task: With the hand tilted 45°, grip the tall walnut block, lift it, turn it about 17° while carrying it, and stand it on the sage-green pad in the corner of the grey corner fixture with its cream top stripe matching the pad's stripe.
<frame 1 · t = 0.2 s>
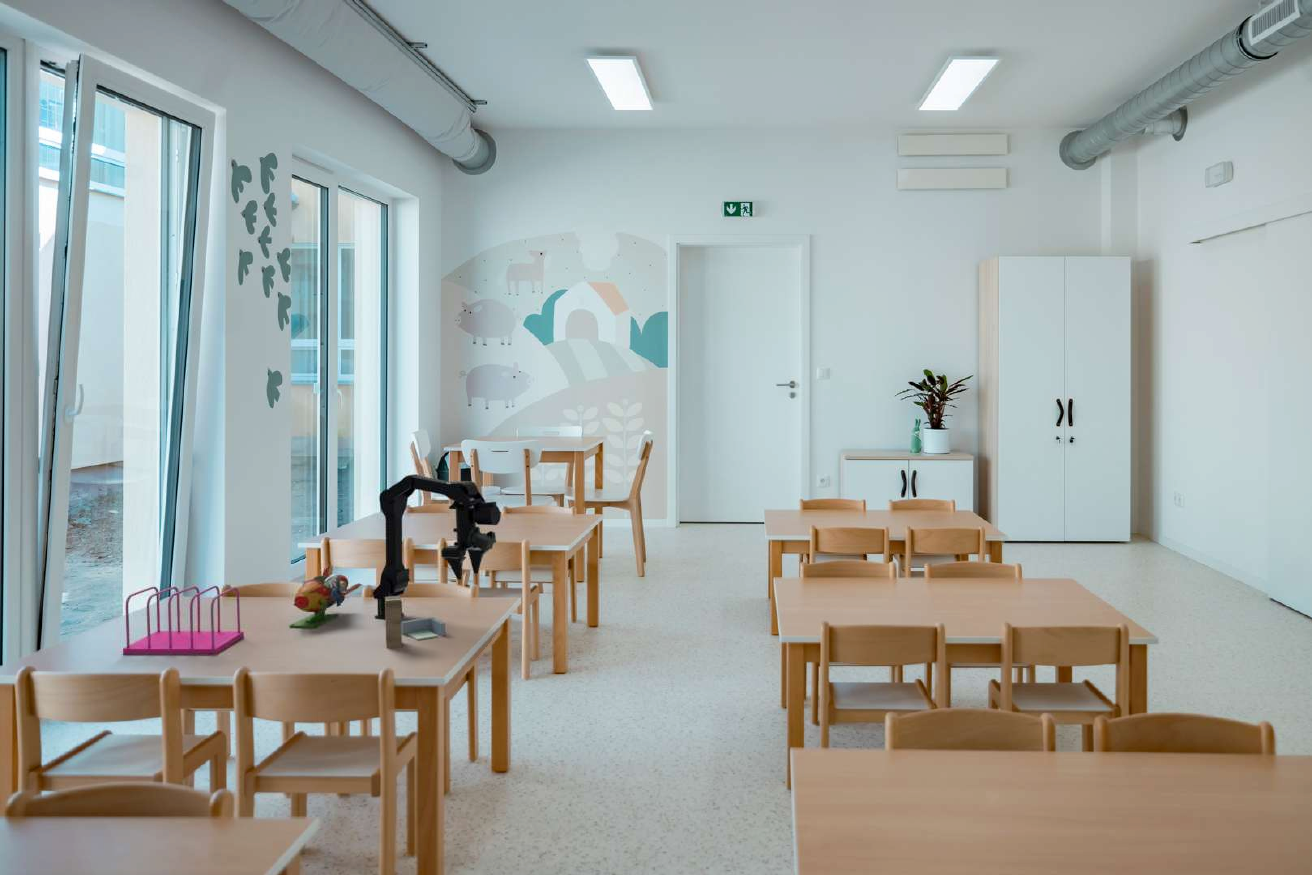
hand: (467, 576, 286), 14 cm above the table, tool pointing down, fingers open, 9 cm apart
file sorter: (185, 646, 266), on the table
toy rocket: (319, 621, 292), on the table
grey corner fixture: (422, 635, 275), on the table
kendama: (331, 597, 325), on the table
walnut block: (393, 644, 266), on the table
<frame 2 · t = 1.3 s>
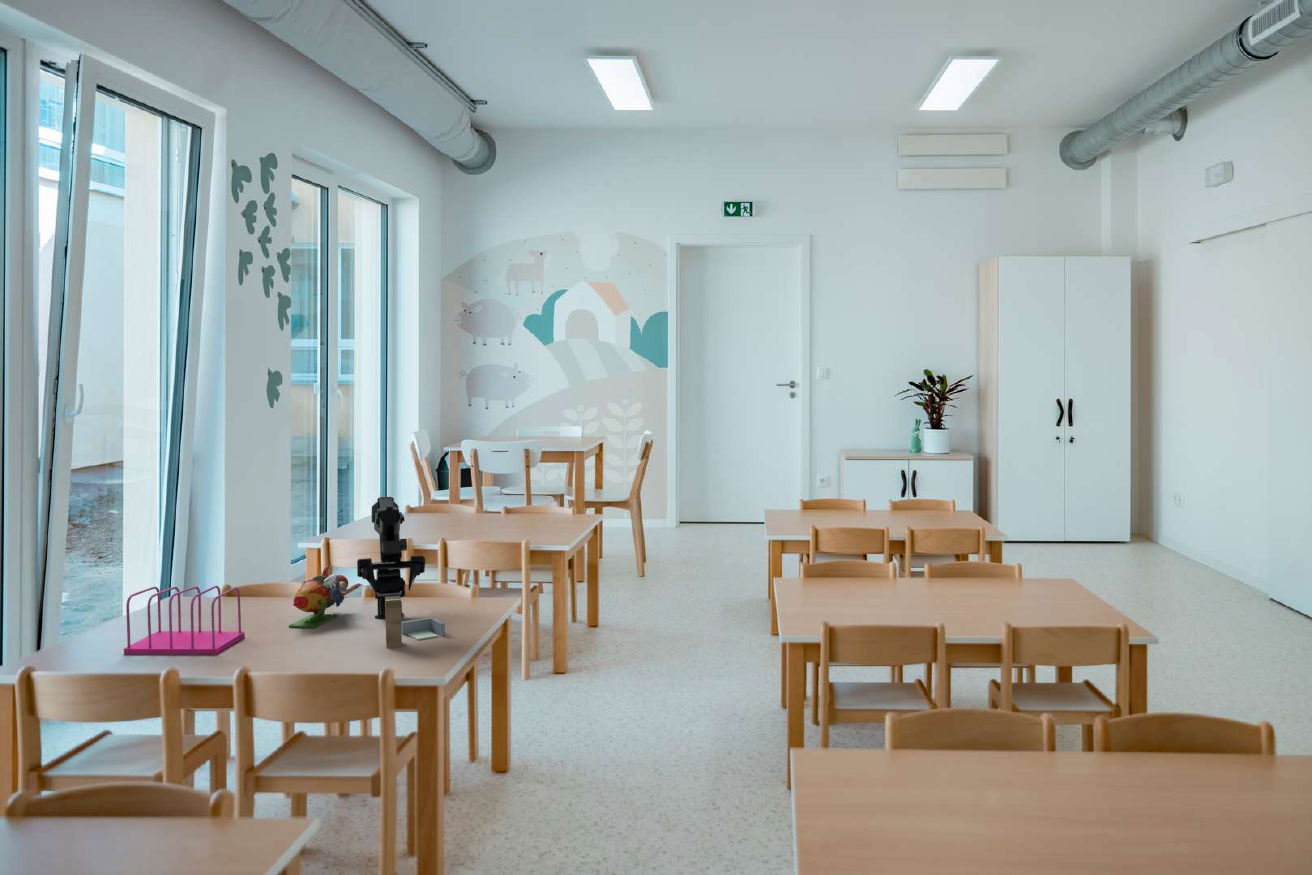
hand: (392, 591, 272), 13 cm above the table, tool tilted 45°, fingers open, 9 cm apart
nothing on the table moved.
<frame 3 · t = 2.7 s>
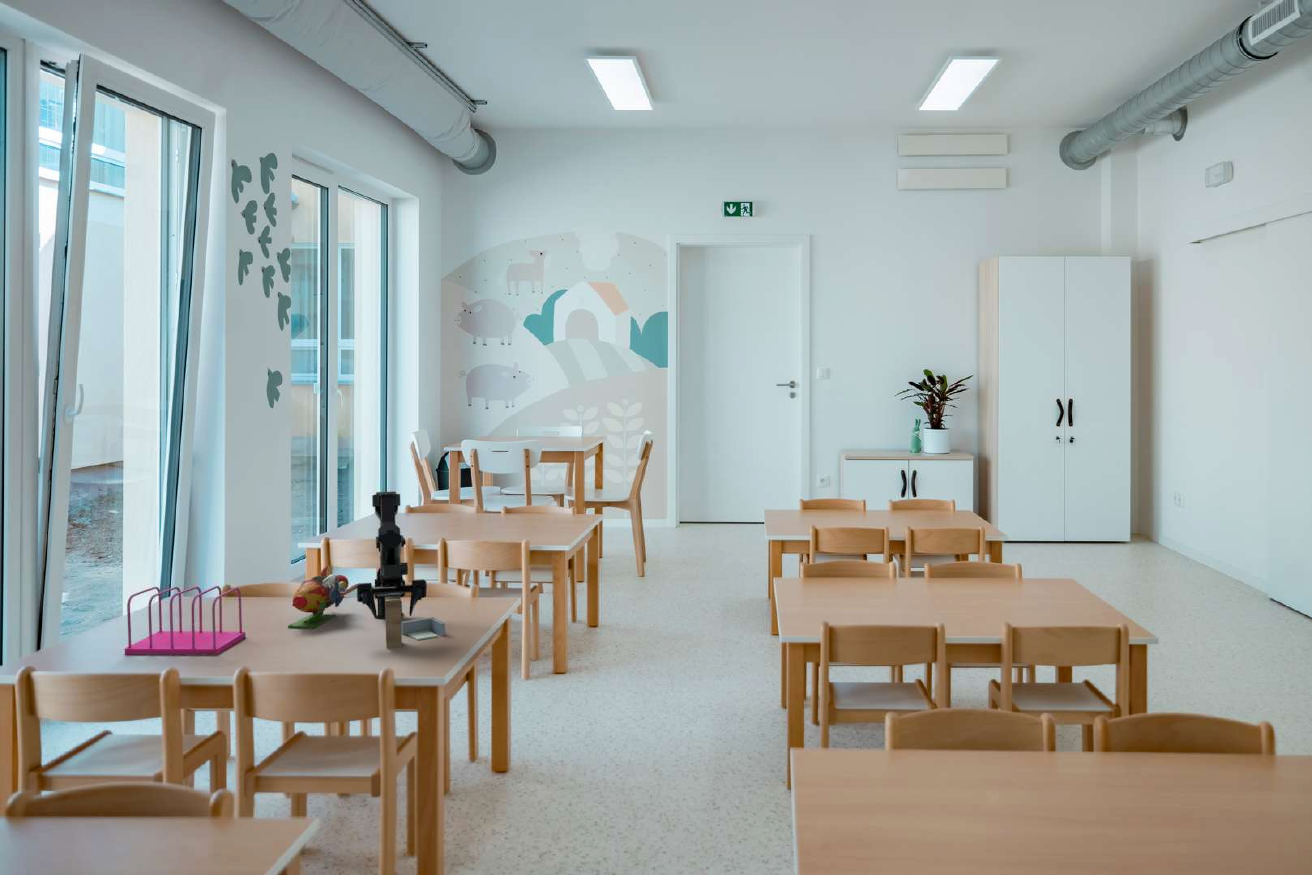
hand: (393, 616, 265), 8 cm above the table, tool tilted 45°, fingers open, 9 cm apart
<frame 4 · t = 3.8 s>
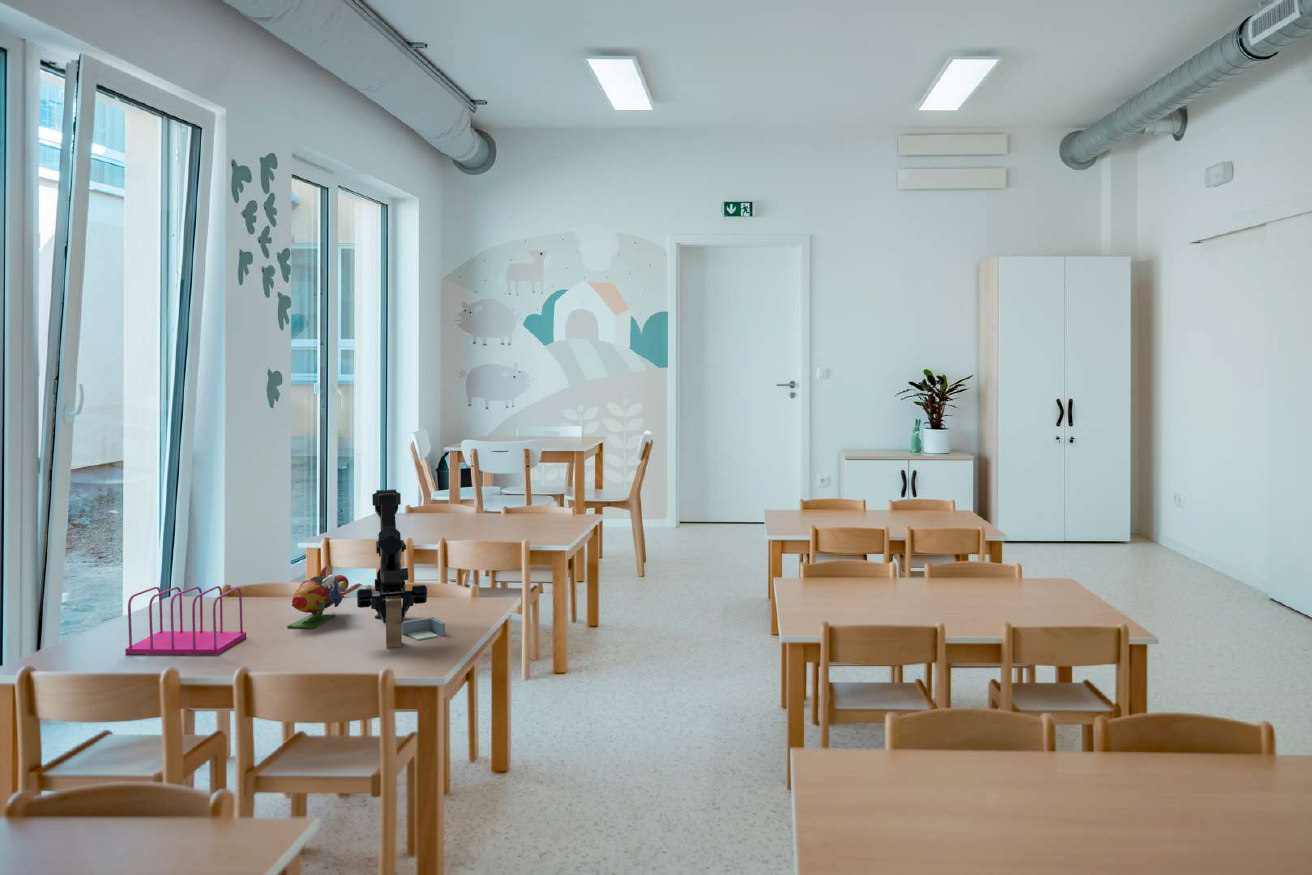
hand: (393, 622, 264), 7 cm above the table, tool tilted 45°, fingers closed on walnut block, 4 cm apart
walnut block: (393, 644, 266), on the table, touching gripper
everything else where it was.
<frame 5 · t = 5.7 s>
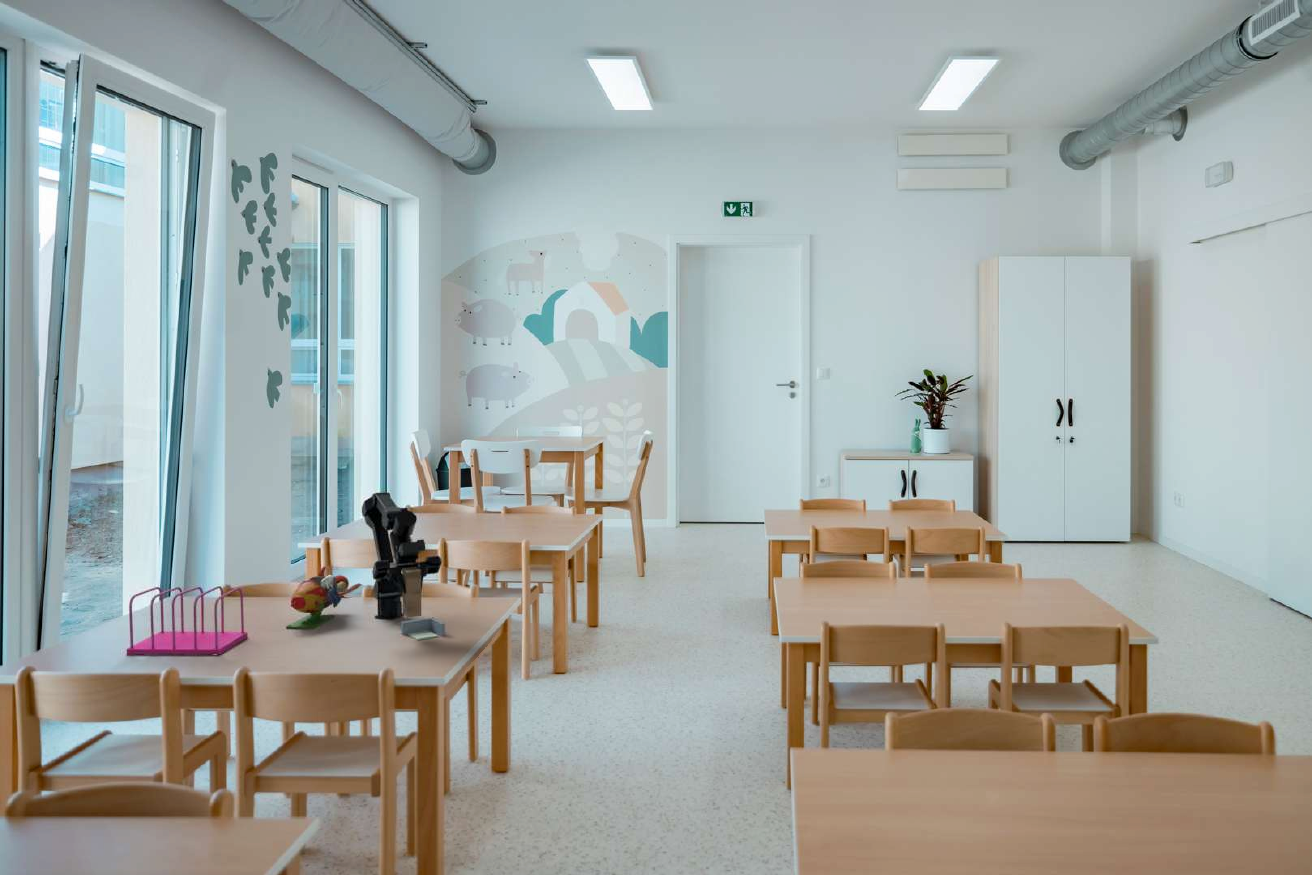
hand: (413, 592, 272), 13 cm above the table, tool tilted 45°, fingers closed on walnut block, 4 cm apart
walnut block: (412, 614, 273), point 6 cm above the table, touching gripper
when the fingers open (8 cm above the table, at t = 7.9 s): walnut block stays where it is, resting on grey corner fixture.
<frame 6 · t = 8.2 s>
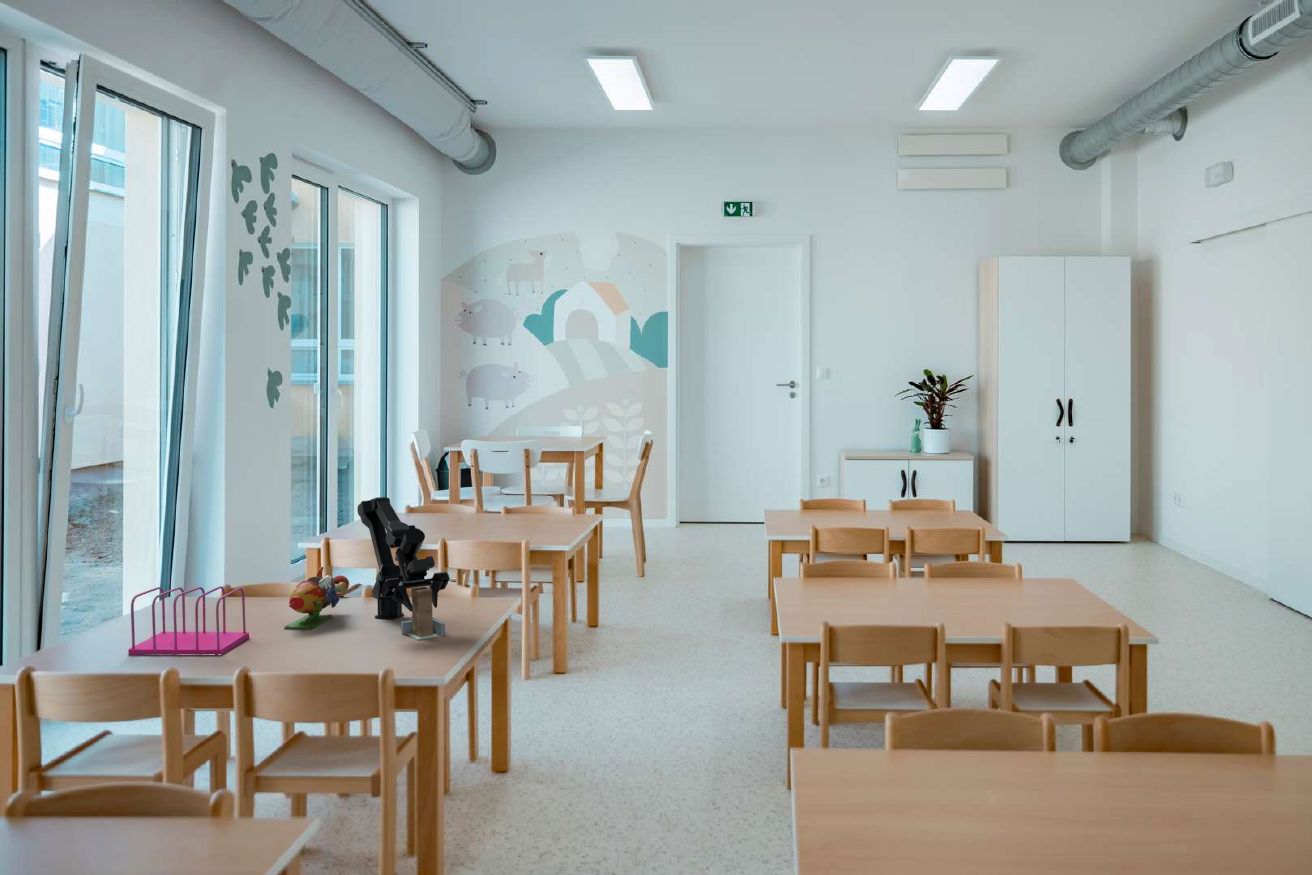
hand: (424, 608, 273), 8 cm above the table, tool tilted 45°, fingers open, 7 cm apart
walnut block: (422, 634, 275), resting on grey corner fixture
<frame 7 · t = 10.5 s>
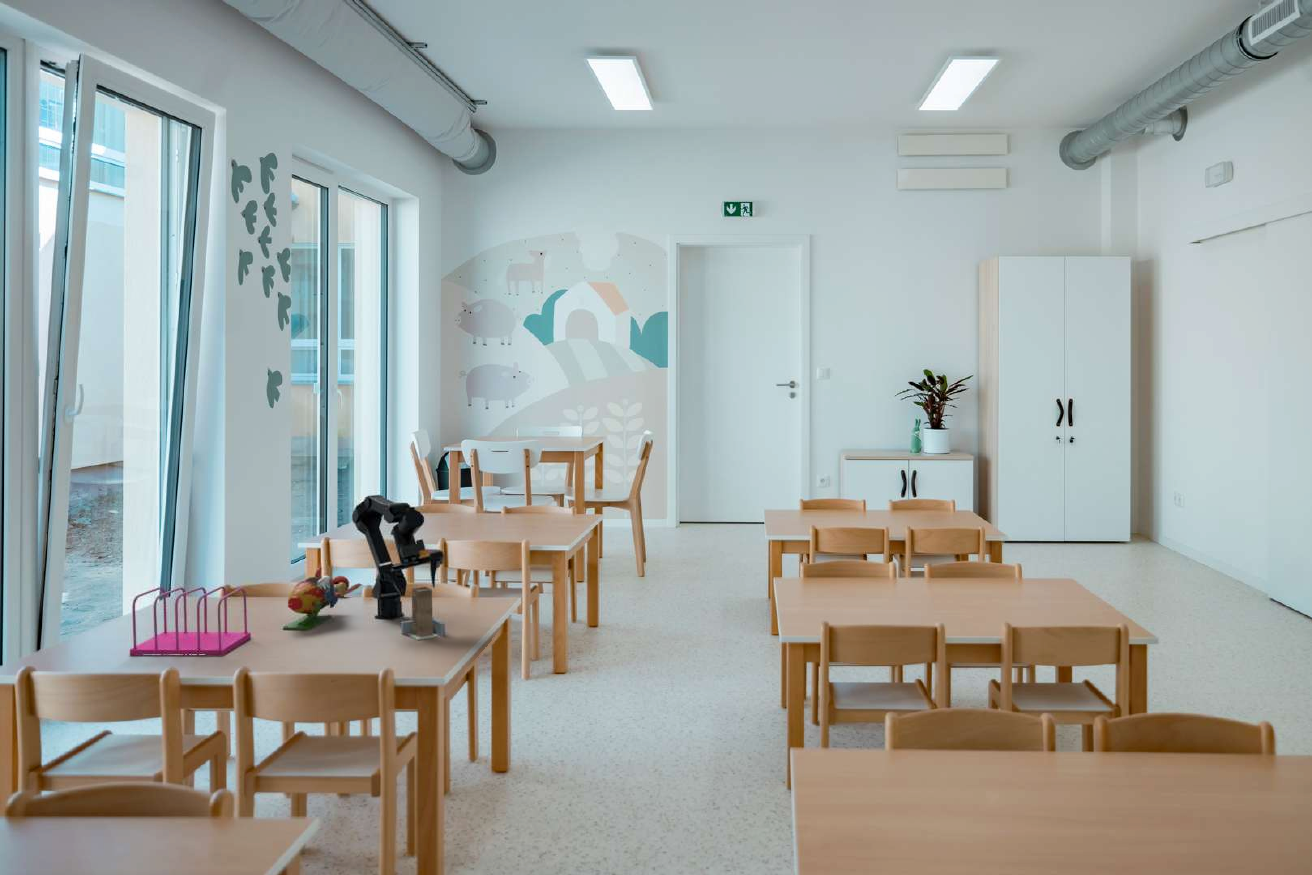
hand: (418, 591, 279), 12 cm above the table, tool tilted 35°, fingers open, 9 cm apart
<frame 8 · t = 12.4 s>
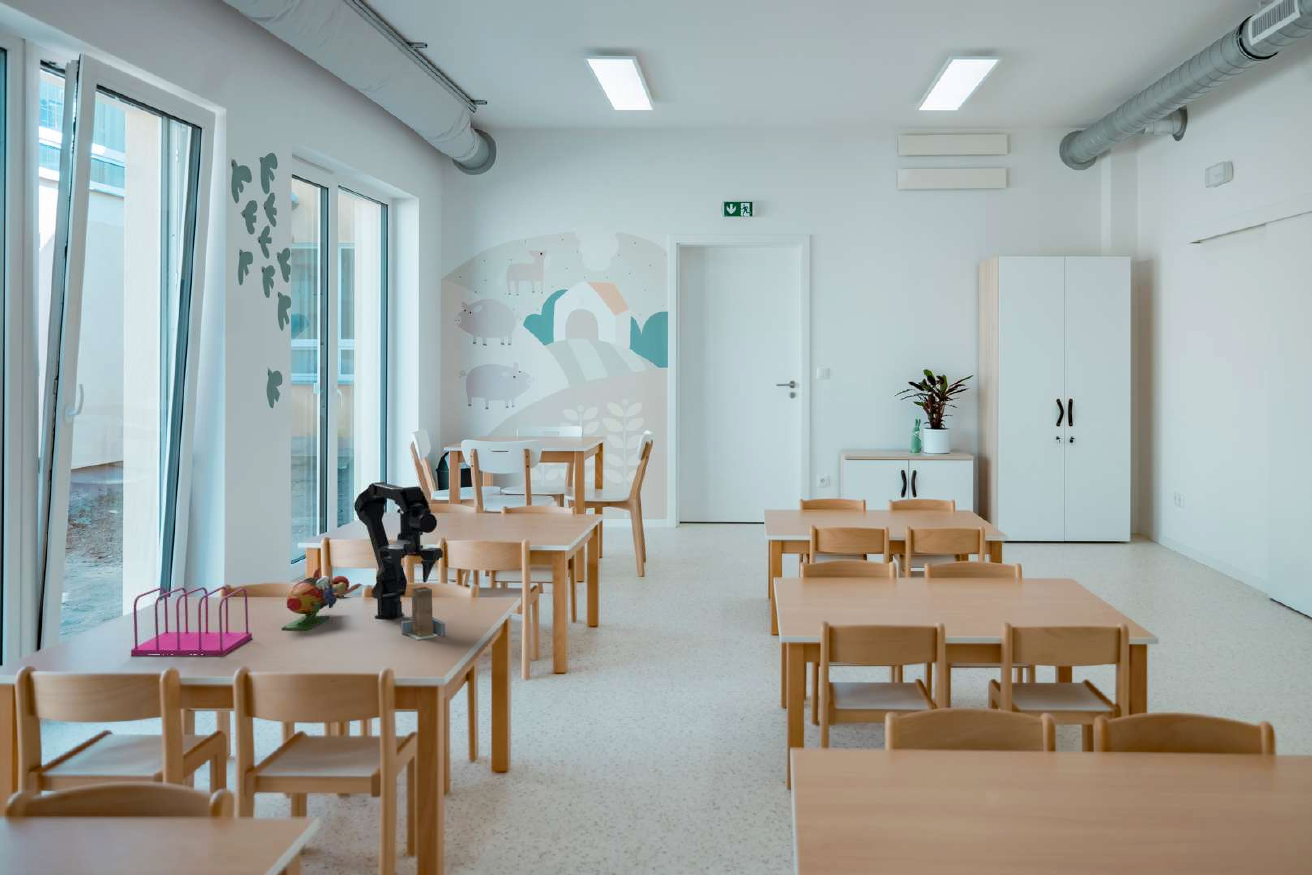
hand: (411, 581, 287), 13 cm above the table, tool pointing down, fingers open, 9 cm apart
at the end: walnut block 0.0 cm off-centre on the grey corner fixture, point 0.5 cm above the grey corner fixture's base; walnut block tilted 1°; the gripper is holding nothing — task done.
